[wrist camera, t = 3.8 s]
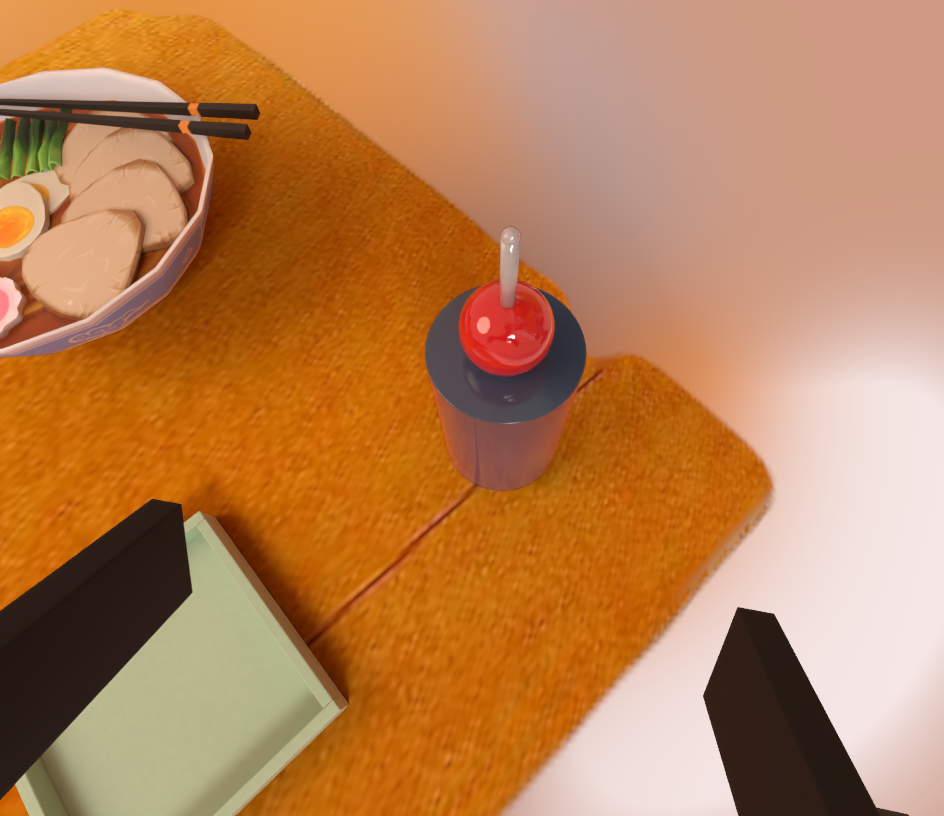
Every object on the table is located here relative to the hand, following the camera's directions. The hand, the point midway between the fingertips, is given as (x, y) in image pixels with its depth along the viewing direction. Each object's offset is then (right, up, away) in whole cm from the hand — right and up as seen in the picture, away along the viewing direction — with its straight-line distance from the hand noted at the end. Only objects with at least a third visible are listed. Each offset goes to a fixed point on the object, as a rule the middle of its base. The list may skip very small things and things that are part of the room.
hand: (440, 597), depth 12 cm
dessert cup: (+3, +3, +20) cm, 20 cm away
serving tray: (-15, -11, +15) cm, 23 cm away
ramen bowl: (-26, +15, +26) cm, 40 cm away
